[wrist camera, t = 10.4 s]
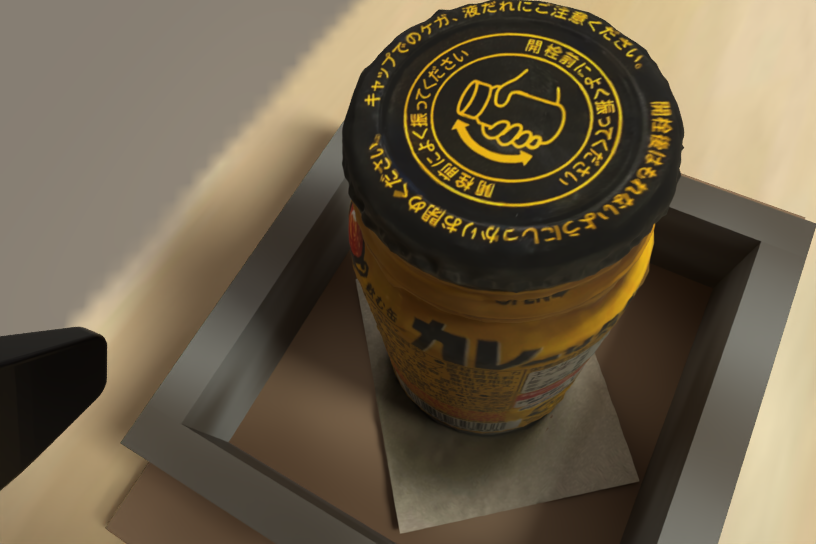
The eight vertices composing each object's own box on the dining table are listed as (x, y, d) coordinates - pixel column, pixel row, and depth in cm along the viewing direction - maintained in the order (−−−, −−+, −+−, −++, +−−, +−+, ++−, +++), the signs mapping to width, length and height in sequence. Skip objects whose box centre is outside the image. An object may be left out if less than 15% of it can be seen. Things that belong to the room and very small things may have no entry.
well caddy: (589, 857, 15) (634, 975, 11) (118, 528, 19) (28, 527, 15) (793, 228, 21) (868, 159, 17) (408, 89, 25) (398, 8, 21)
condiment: (553, 238, 21) (651, -82, 10) (638, 482, 17) (934, 397, 6) (356, 281, 21) (239, 7, 10) (401, 533, 17) (294, 537, 6)
